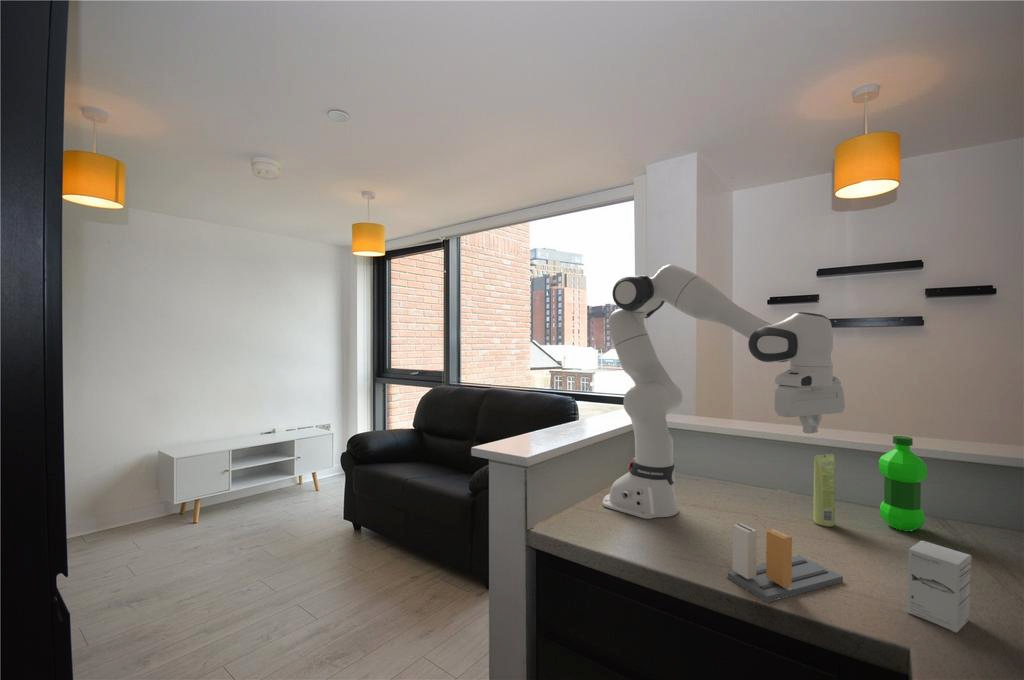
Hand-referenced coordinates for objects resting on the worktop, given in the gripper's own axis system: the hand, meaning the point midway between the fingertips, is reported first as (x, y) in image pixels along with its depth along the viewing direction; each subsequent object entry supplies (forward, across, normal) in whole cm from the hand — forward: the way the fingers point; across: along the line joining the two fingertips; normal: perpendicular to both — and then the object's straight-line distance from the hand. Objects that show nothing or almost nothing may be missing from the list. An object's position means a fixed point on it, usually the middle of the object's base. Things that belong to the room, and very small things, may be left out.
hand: (810, 432), depth 114 cm
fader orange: (+27, +24, +11) cm, 38 cm away
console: (+29, +19, +8) cm, 36 cm away
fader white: (+27, +28, +6) cm, 39 cm away
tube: (+29, -18, -9) cm, 36 cm away
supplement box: (+29, +3, +28) cm, 41 cm away
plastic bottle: (+29, -36, 0) cm, 46 cm away
